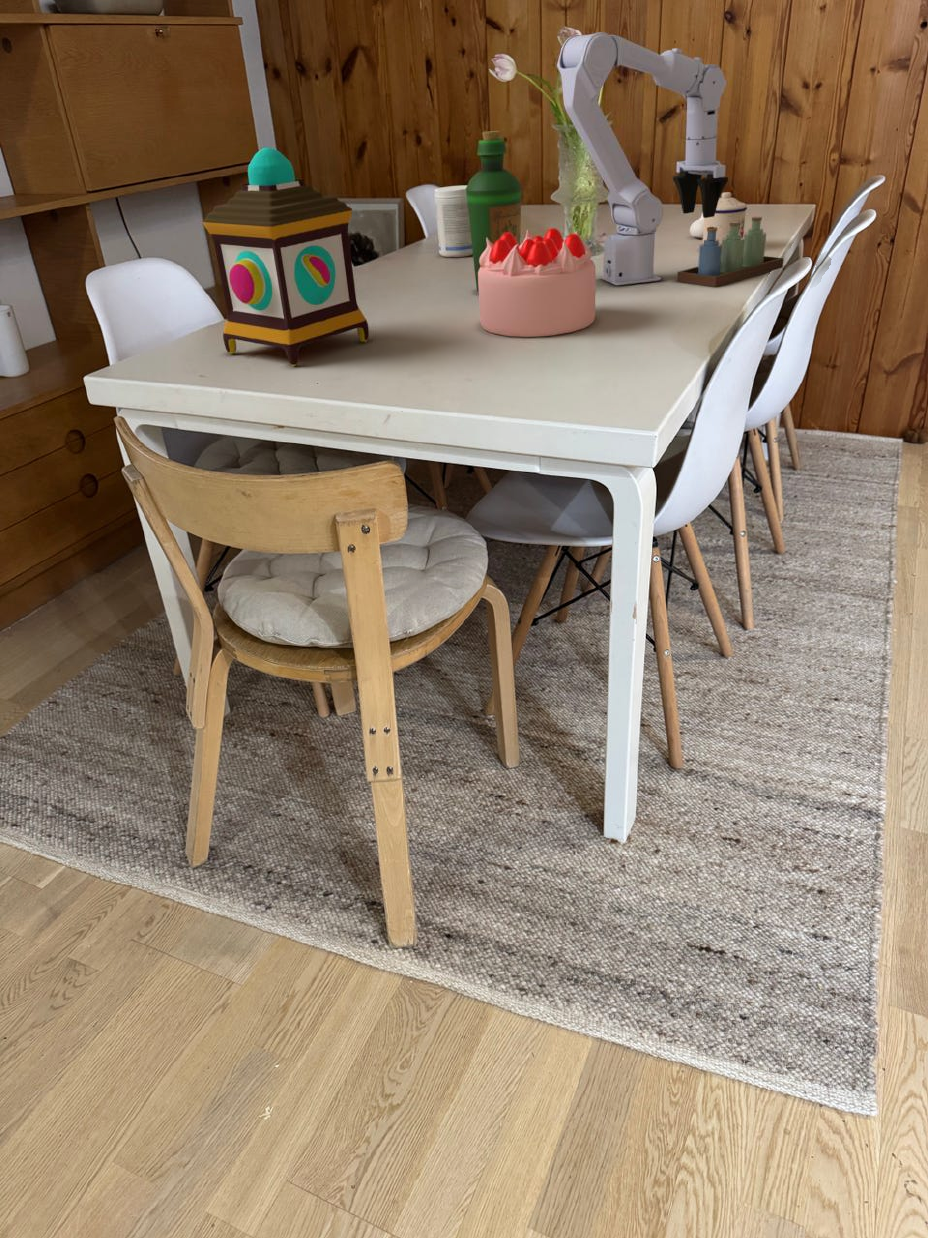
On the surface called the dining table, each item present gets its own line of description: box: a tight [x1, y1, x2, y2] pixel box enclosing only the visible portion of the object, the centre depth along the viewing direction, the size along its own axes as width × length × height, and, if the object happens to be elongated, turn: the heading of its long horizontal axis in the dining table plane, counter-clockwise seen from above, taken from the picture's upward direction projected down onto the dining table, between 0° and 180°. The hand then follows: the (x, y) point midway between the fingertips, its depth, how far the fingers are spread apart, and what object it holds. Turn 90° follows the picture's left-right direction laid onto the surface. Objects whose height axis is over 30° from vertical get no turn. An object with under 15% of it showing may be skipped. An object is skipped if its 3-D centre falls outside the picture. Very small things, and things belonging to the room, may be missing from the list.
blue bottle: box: [697, 227, 722, 276], centre depth 172 cm, size 4×4×9 cm
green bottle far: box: [742, 215, 767, 267], centre depth 180 cm, size 4×4×9 cm
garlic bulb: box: [689, 212, 704, 239], centre depth 214 cm, size 6×6×8 cm
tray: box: [676, 255, 785, 288], centre depth 178 cm, size 21×9×2 cm, turn 129°
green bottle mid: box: [720, 222, 745, 273], centre depth 176 cm, size 4×4×9 cm
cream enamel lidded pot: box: [702, 191, 748, 244], centre depth 199 cm, size 12×9×12 cm
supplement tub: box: [434, 184, 473, 258], centre depth 214 cm, size 10×10×15 cm
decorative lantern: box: [202, 146, 370, 367], centre depth 144 cm, size 20×20×30 cm
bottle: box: [466, 130, 522, 293], centre depth 172 cm, size 11×11×28 cm
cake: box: [478, 227, 597, 338], centre depth 151 cm, size 20×20×14 cm
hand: (698, 214), depth 179 cm, fingers open, 7 cm apart
